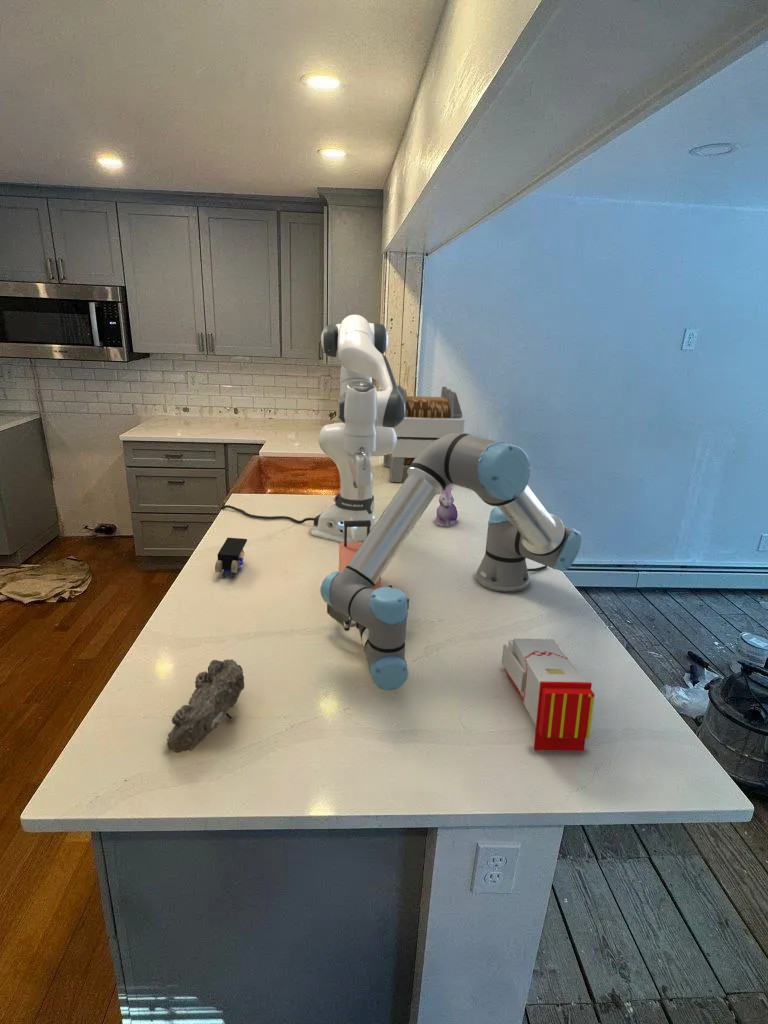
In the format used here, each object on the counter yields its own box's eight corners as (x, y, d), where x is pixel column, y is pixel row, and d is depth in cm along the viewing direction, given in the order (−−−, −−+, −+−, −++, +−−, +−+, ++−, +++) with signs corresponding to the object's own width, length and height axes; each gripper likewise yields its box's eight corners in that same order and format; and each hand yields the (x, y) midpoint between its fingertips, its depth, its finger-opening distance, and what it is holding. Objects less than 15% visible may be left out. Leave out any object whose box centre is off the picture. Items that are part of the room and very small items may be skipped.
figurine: (442, 528, 206) (446, 489, 201) (428, 519, 214) (431, 481, 209) (464, 525, 210) (468, 486, 205) (449, 516, 218) (452, 479, 213)
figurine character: (238, 584, 162) (249, 557, 175) (236, 562, 158) (247, 536, 172) (215, 584, 161) (227, 556, 175) (212, 561, 158) (225, 535, 171)
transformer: (382, 463, 289) (386, 382, 275) (445, 464, 293) (451, 384, 279) (390, 482, 257) (394, 392, 243) (460, 483, 261) (468, 394, 247)
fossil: (192, 660, 117) (244, 628, 112) (224, 691, 120) (276, 661, 115) (142, 746, 98) (202, 712, 93) (182, 779, 101) (242, 748, 96)
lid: (338, 545, 165) (339, 517, 162) (371, 544, 167) (372, 516, 164) (345, 571, 149) (345, 540, 146) (381, 570, 151) (382, 539, 148)
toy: (549, 621, 128) (604, 690, 99) (544, 676, 131) (595, 758, 101) (496, 620, 128) (535, 688, 98) (492, 675, 130) (528, 757, 101)
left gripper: (377, 453, 144) (375, 504, 148) (366, 435, 163) (364, 481, 167) (352, 453, 143) (351, 505, 147) (344, 435, 161) (343, 482, 166)
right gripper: (321, 654, 125) (315, 606, 144) (431, 646, 129) (410, 601, 149) (321, 624, 122) (315, 580, 142) (433, 617, 127) (412, 575, 146)
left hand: (358, 492), depth 157 cm, fingers open, 8 cm apart
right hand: (363, 590), depth 145 cm, fingers open, 13 cm apart
